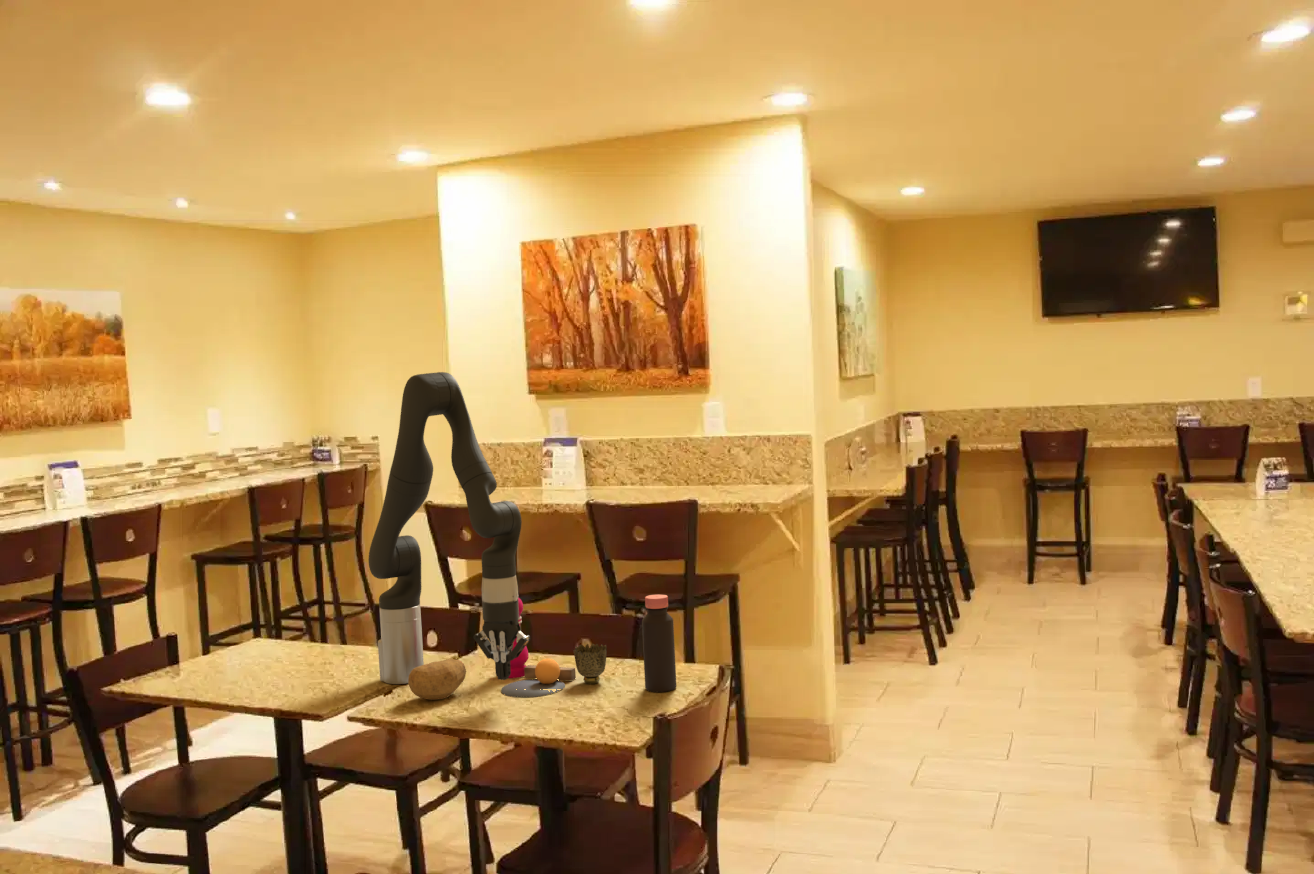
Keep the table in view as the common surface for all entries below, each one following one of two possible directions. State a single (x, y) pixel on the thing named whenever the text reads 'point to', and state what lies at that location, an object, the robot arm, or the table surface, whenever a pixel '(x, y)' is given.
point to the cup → (590, 662)
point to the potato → (437, 679)
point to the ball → (547, 671)
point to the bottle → (658, 645)
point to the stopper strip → (564, 675)
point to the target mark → (530, 688)
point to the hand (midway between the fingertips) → (503, 678)
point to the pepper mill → (519, 662)
